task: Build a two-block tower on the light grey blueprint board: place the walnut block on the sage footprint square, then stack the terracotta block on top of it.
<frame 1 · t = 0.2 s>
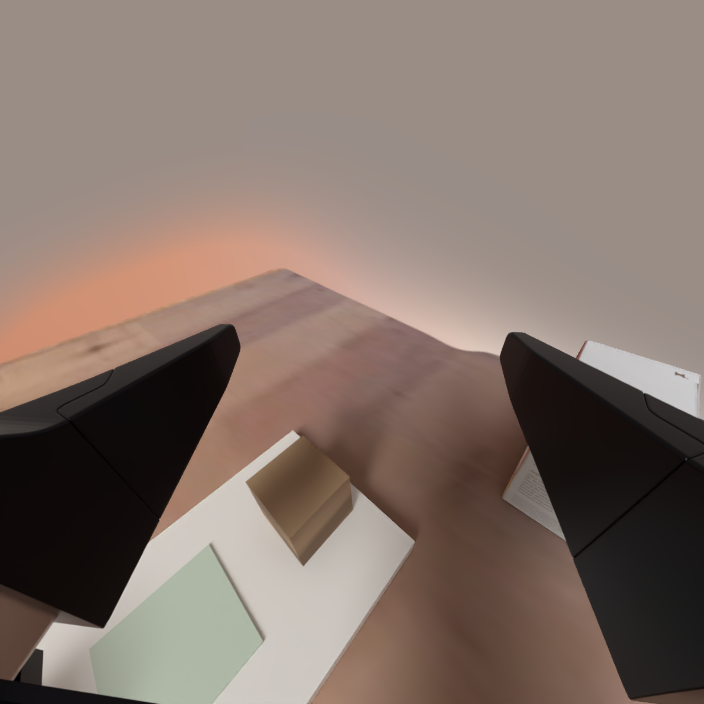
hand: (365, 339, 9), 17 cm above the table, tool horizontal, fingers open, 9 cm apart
small box: (554, 486, 22), on the table
walnut block: (308, 511, 20), point 1 cm above the table, touching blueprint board
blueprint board: (186, 649, 16), on the table
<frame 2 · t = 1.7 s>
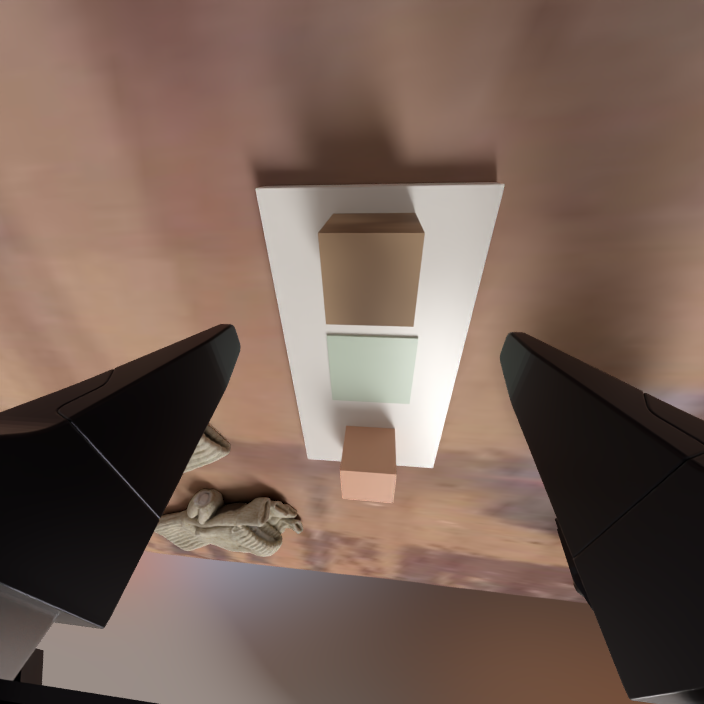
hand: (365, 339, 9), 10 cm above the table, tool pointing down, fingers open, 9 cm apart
walnut block: (373, 254, 17), point 1 cm above the table, touching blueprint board
terracotta block: (370, 442, 27), point 1 cm above the table, touching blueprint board
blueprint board: (371, 361, 23), on the table
pair of gloves: (190, 482, 39), on the table
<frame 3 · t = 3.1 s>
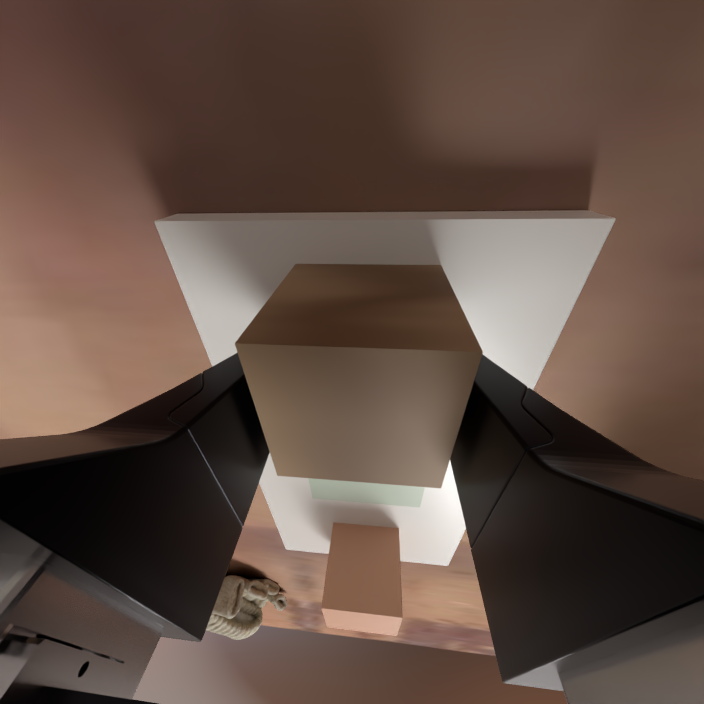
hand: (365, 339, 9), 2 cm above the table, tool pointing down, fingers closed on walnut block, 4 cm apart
walnut block: (366, 327, 10), point 1 cm above the table, touching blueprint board, gripper
terracotta block: (365, 539, 21), point 1 cm above the table, touching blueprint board
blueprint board: (366, 450, 16), on the table
pair of gloves: (150, 552, 33), on the table
when the fingers open (3 cm above the table, at t = 6.6 s): walnut block drops 1 cm, resting on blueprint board.
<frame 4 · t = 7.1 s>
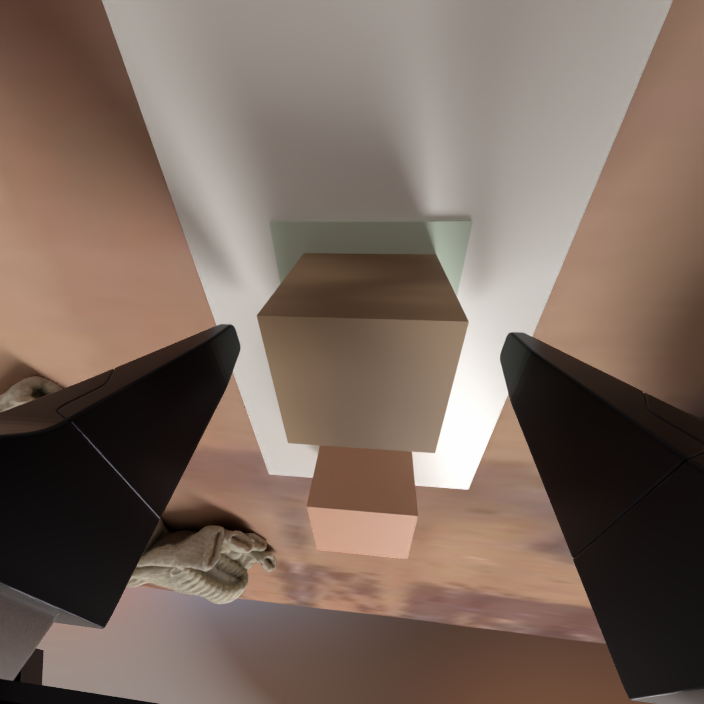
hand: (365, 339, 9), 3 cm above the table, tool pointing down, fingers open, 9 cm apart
walnut block: (367, 312, 11), point 1 cm above the table, touching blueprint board
terracotta block: (366, 449, 16), point 1 cm above the table, touching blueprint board
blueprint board: (368, 297, 12), on the table
pair of gloves: (119, 502, 28), on the table
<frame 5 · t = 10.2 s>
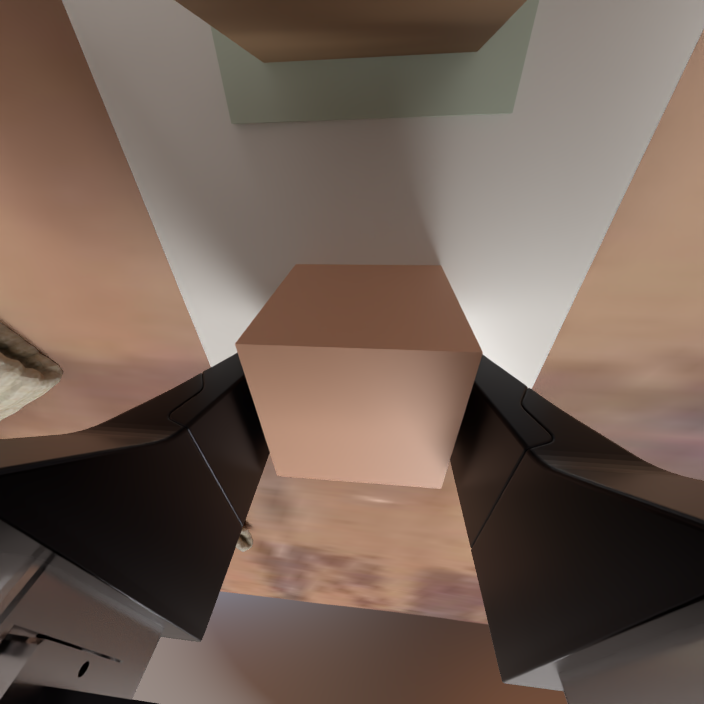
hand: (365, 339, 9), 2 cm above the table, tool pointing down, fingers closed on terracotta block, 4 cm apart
terracotta block: (366, 327, 10), point 1 cm above the table, touching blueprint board, gripper
pair of gloves: (49, 462, 22), on the table
when the fingers open (8 cm above the table, at t = 13.6 s): terracotta block drops 1 cm, resting on walnut block.
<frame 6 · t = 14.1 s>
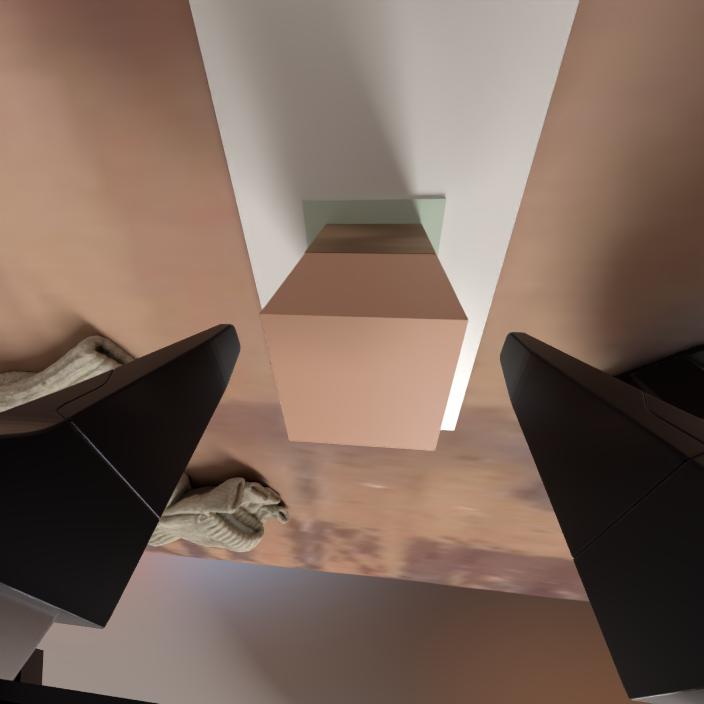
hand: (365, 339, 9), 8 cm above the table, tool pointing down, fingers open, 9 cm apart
walnut block: (372, 270, 15), point 1 cm above the table, touching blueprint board, terracotta block
terracotta block: (368, 311, 11), point 6 cm above the table, touching walnut block
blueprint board: (372, 261, 16), on the table
pair of gloves: (150, 461, 32), on the table
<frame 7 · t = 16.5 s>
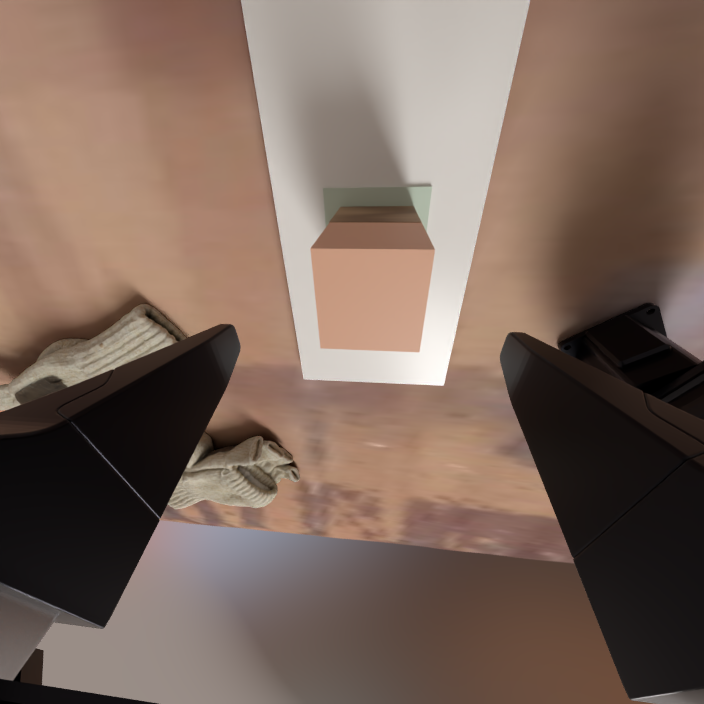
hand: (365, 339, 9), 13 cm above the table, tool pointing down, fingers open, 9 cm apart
walnut block: (375, 243, 19), point 1 cm above the table, touching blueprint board, terracotta block
terracotta block: (373, 267, 15), point 6 cm above the table, touching walnut block
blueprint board: (375, 238, 20), on the table
pair of gloves: (177, 425, 36), on the table
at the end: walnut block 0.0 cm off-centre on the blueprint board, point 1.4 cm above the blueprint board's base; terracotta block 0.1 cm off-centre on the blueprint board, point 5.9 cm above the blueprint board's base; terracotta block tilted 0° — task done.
